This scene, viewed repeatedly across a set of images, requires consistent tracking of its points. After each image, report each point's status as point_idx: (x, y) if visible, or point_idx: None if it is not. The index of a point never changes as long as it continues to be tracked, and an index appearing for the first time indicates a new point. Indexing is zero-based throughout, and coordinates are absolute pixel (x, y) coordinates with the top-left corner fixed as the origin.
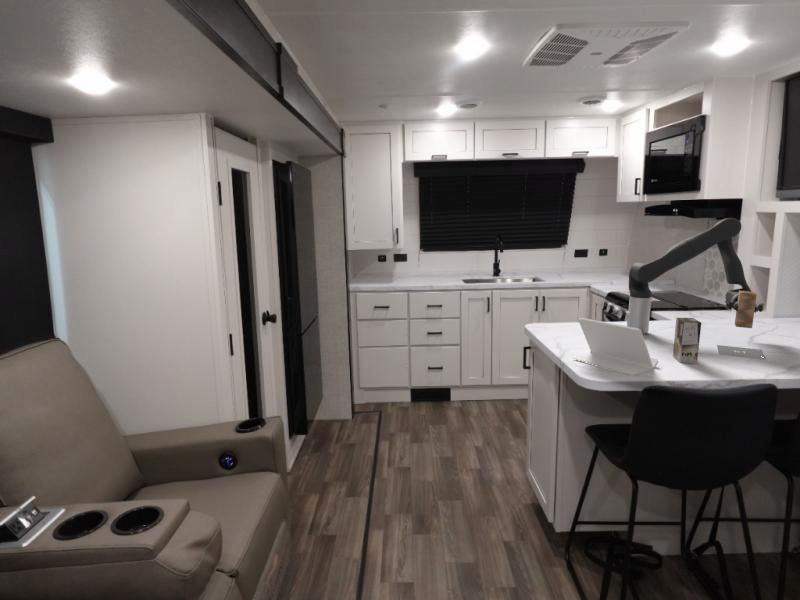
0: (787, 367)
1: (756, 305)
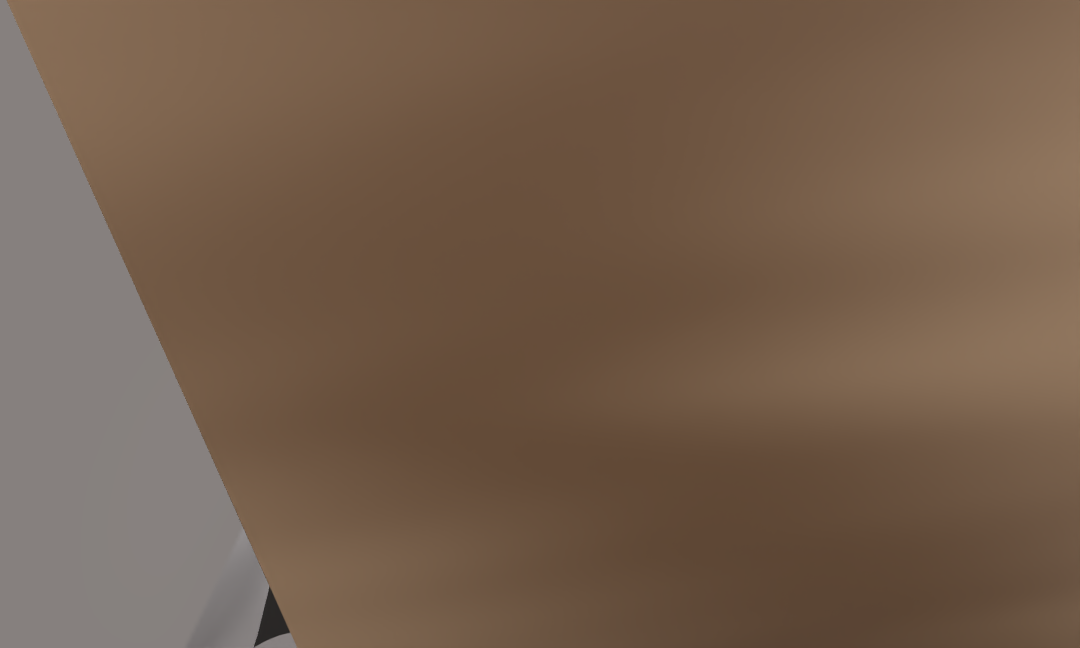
0: (240, 621)
1: (278, 646)
